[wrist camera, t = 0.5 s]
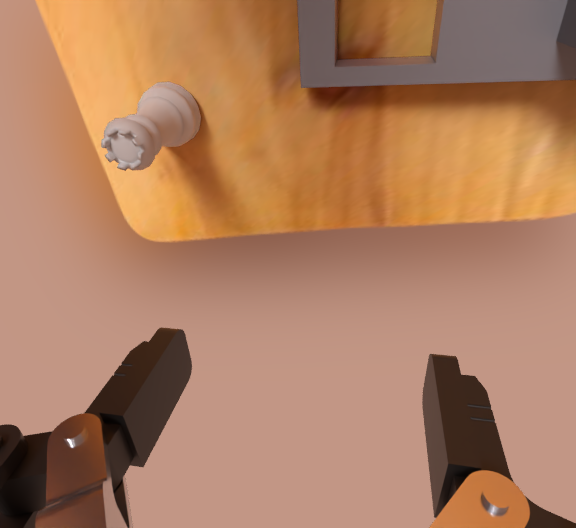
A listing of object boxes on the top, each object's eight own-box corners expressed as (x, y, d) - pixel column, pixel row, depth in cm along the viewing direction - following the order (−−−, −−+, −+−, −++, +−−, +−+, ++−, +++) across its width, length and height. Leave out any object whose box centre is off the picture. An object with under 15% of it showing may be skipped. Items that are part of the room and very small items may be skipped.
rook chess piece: (134, 89, 30) (70, 122, 23) (187, 72, 28) (134, 102, 22) (162, 147, 32) (110, 192, 26) (212, 133, 31) (170, 177, 24)
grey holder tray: (306, 78, 27) (288, 110, 21) (300, -75, 23) (275, -90, 17) (680, 66, 24) (783, 100, 18) (765, -121, 19) (945, -160, 13)
